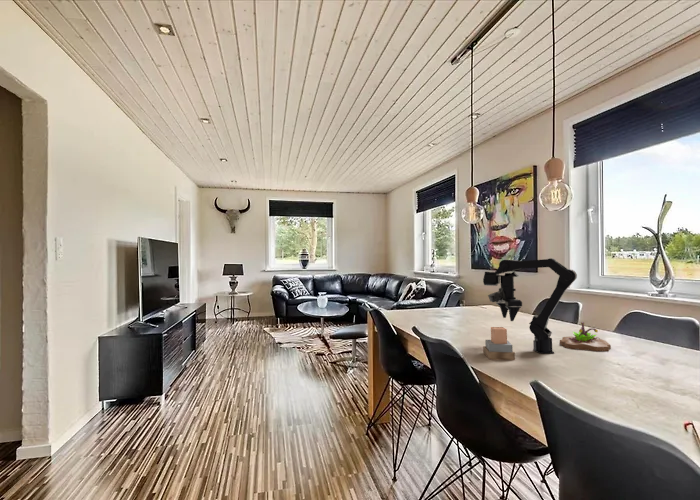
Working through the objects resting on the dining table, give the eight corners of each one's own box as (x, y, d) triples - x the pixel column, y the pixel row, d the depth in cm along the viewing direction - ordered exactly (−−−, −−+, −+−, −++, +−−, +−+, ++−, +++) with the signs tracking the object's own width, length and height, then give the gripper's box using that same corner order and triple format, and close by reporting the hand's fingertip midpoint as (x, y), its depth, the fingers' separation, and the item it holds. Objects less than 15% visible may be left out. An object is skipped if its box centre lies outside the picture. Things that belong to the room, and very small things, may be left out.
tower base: (506, 354, 156) (506, 346, 156) (515, 361, 146) (514, 352, 146) (483, 354, 157) (483, 346, 157) (489, 360, 147) (489, 352, 147)
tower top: (507, 347, 155) (507, 340, 155) (512, 352, 146) (512, 345, 146) (485, 346, 157) (485, 339, 157) (489, 351, 148) (489, 344, 148)
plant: (608, 344, 171) (607, 320, 171) (612, 353, 154) (611, 327, 154) (559, 339, 181) (559, 317, 181) (559, 348, 164) (558, 323, 165)
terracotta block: (502, 340, 154) (502, 327, 154) (507, 343, 149) (506, 329, 149) (491, 340, 154) (490, 327, 154) (494, 343, 149) (494, 329, 149)
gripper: (483, 284, 177) (484, 316, 176) (496, 288, 158) (497, 323, 158) (506, 284, 176) (507, 316, 176) (522, 287, 157) (523, 323, 157)
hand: (508, 319), depth 166 cm, fingers open, 9 cm apart
